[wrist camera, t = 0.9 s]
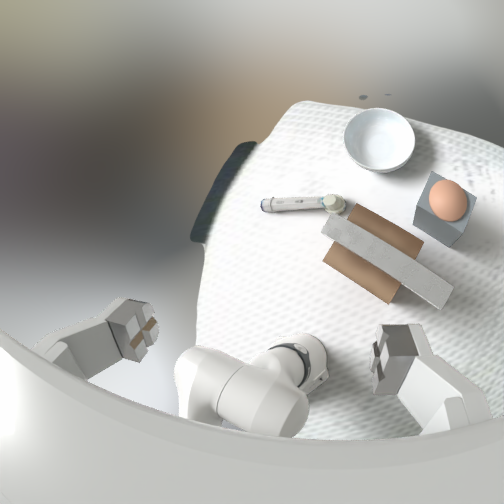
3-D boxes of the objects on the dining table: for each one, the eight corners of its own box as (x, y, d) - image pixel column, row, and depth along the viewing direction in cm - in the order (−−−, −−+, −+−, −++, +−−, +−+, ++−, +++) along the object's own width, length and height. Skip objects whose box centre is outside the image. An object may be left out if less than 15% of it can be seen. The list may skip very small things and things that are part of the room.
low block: (449, 247, 56) (463, 232, 42) (412, 224, 62) (416, 203, 48) (461, 218, 55) (477, 196, 40) (425, 196, 61) (432, 169, 46)
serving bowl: (354, 116, 74) (349, 103, 68) (417, 127, 64) (417, 114, 58) (340, 172, 74) (335, 161, 68) (409, 187, 64) (410, 177, 58)
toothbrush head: (261, 195, 82) (339, 188, 67) (273, 202, 87) (347, 197, 72) (259, 211, 81) (338, 207, 66) (271, 217, 87) (346, 215, 71)
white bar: (438, 309, 35) (441, 309, 33) (325, 236, 47) (320, 232, 45) (450, 287, 35) (454, 287, 32) (336, 216, 47) (332, 211, 44)
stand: (389, 302, 62) (388, 304, 40) (346, 274, 69) (322, 260, 47) (413, 262, 61) (424, 241, 38) (369, 235, 68) (356, 203, 45)
